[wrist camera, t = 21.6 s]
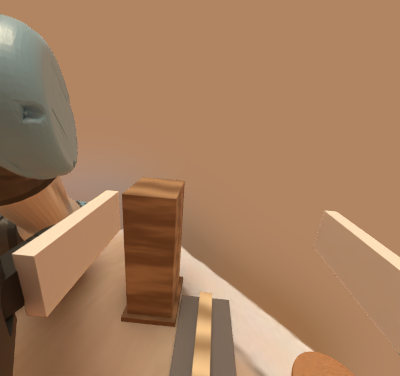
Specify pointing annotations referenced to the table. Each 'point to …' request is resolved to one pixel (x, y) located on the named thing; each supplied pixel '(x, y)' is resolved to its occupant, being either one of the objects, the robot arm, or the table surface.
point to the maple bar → (203, 336)
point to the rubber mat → (220, 339)
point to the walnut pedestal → (153, 250)
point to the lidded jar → (318, 366)
